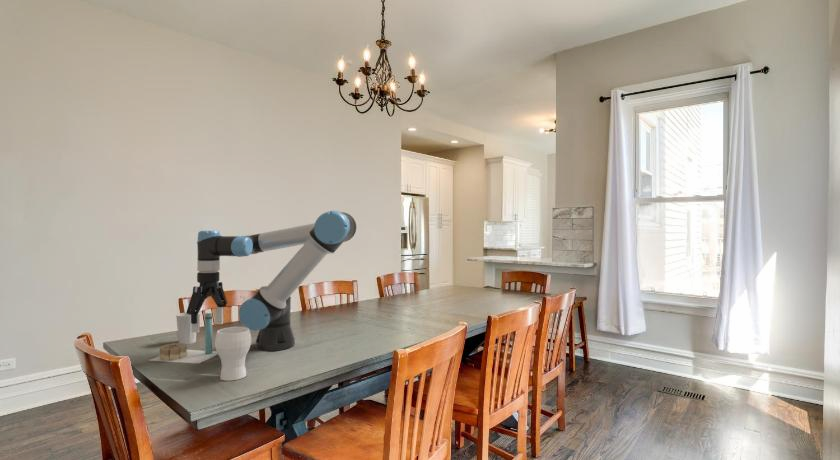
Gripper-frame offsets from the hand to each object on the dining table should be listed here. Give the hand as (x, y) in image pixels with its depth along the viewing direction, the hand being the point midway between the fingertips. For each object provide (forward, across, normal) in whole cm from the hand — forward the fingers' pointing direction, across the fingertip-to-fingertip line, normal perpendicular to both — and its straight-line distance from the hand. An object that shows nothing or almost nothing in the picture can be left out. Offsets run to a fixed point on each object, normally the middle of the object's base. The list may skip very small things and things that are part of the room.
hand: (207, 327), depth 160 cm
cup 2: (+10, +20, +24) cm, 32 cm away
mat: (+10, +4, -6) cm, 12 cm away
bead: (+10, +6, -10) cm, 15 cm away
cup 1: (+10, -13, -18) cm, 25 cm away
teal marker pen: (+10, 0, 0) cm, 10 cm away
